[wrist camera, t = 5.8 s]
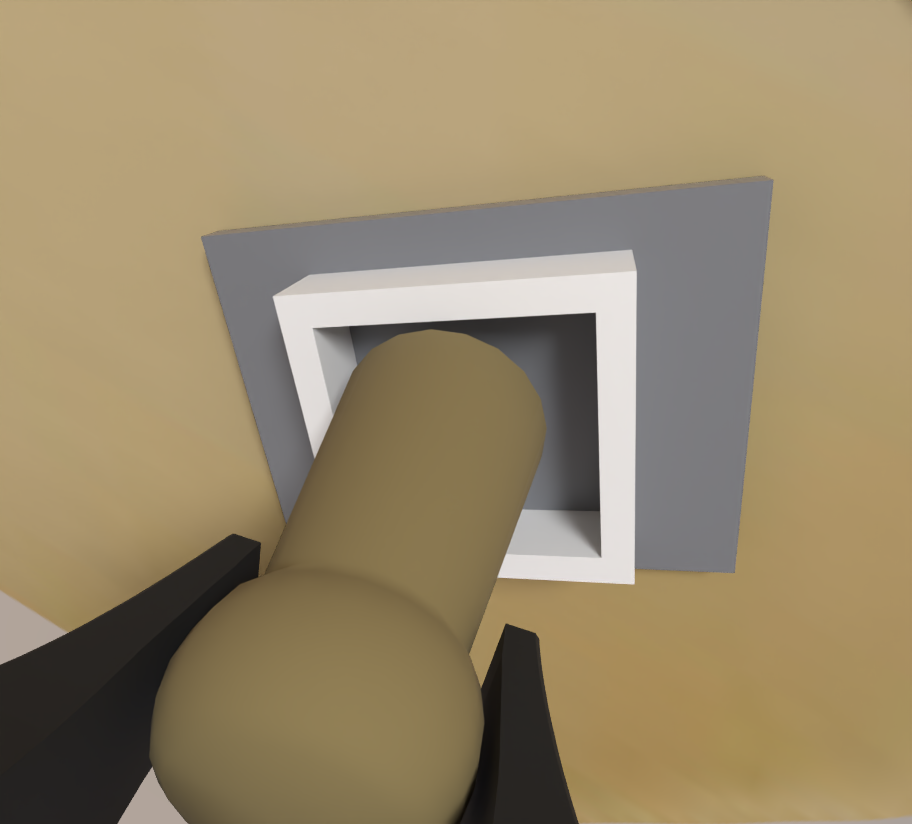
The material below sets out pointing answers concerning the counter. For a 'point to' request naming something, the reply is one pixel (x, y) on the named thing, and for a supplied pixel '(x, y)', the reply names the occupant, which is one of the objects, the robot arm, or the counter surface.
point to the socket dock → (537, 351)
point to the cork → (363, 608)
